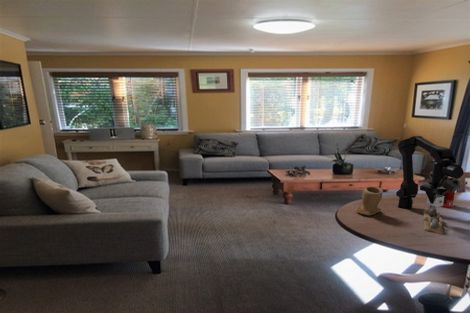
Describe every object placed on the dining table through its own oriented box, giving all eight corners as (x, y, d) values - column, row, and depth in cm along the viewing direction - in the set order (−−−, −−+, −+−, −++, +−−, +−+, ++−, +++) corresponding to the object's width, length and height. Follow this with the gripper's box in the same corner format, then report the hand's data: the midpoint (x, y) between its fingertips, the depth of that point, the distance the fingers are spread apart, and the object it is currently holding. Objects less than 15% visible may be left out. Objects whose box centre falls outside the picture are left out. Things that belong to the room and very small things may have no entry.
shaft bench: (424, 230, 136) (425, 220, 135) (423, 211, 158) (424, 202, 157) (443, 234, 132) (445, 223, 131) (439, 214, 154) (441, 205, 153)
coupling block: (426, 203, 145) (427, 194, 144) (431, 202, 147) (433, 192, 146) (437, 207, 140) (439, 197, 139) (443, 205, 142) (445, 196, 141)
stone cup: (372, 219, 149) (375, 192, 146) (352, 212, 158) (354, 186, 155) (387, 213, 157) (390, 187, 154) (367, 206, 167) (369, 182, 164)
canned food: (451, 204, 169) (454, 187, 167) (453, 209, 162) (455, 190, 160) (436, 202, 173) (438, 185, 171) (436, 206, 166) (439, 188, 164)
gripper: (445, 179, 129) (440, 211, 132) (468, 174, 137) (463, 205, 140) (421, 173, 139) (417, 203, 142) (443, 169, 146) (439, 198, 150)
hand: (434, 202), depth 143 cm, fingers closed on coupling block, 5 cm apart
